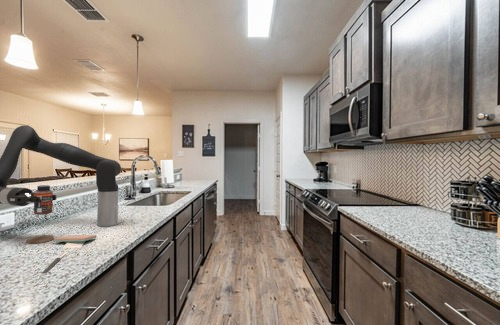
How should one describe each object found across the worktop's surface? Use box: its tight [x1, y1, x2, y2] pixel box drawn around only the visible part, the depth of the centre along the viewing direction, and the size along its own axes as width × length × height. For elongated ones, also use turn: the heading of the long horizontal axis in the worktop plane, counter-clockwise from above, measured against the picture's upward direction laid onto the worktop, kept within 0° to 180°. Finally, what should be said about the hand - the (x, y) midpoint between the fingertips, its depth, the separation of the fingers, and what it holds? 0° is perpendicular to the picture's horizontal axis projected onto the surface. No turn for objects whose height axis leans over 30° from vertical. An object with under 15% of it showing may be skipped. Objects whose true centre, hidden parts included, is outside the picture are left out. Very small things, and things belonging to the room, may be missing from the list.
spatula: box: [41, 241, 86, 275], centre depth 91 cm, size 6×29×2 cm, turn 17°
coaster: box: [25, 234, 55, 245], centre depth 107 cm, size 9×9×1 cm
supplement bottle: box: [33, 184, 54, 216], centre depth 106 cm, size 6×6×11 cm
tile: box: [53, 234, 98, 243], centre depth 106 cm, size 1×8×12 cm
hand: (47, 198), depth 106 cm, fingers closed on supplement bottle, 6 cm apart
